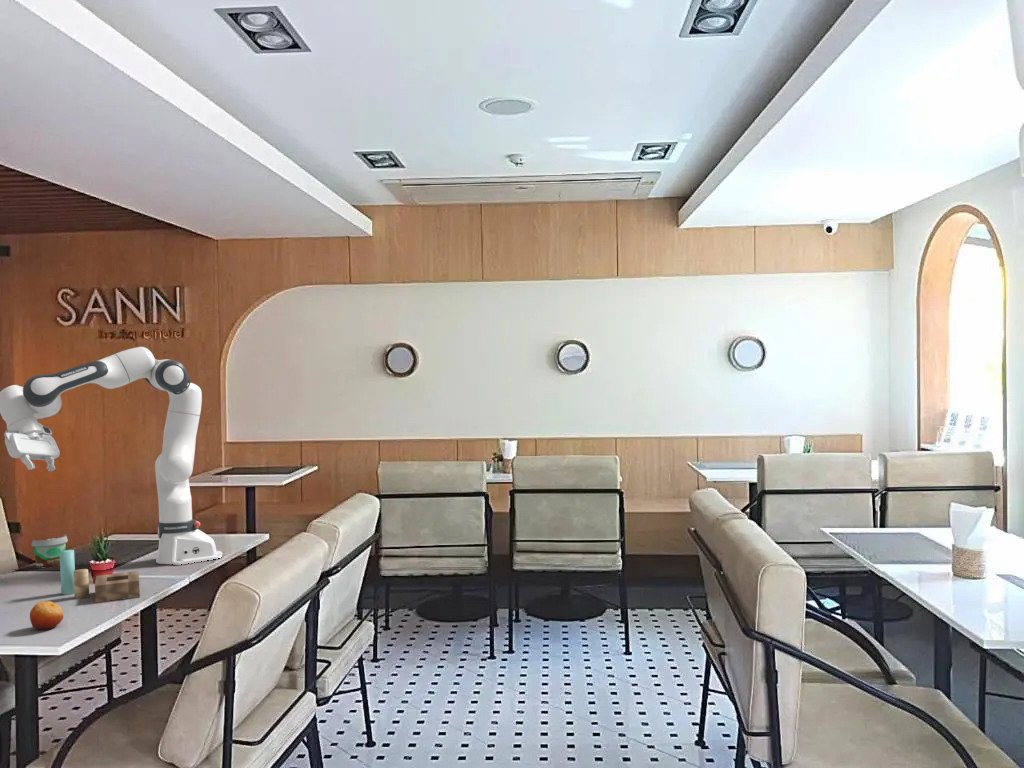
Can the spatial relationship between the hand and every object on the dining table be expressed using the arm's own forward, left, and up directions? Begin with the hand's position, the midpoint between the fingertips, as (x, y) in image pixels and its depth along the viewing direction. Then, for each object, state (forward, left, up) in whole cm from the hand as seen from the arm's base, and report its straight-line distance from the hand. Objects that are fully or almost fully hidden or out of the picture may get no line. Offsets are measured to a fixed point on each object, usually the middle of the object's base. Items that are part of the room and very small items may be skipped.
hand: (42, 469), depth 282 cm
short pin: (-11, +23, -37) cm, 45 cm away
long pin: (-7, +16, -37) cm, 41 cm away
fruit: (-4, +55, -37) cm, 67 cm away
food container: (0, -31, -37) cm, 49 cm away
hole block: (-21, +26, -37) cm, 50 cm away
